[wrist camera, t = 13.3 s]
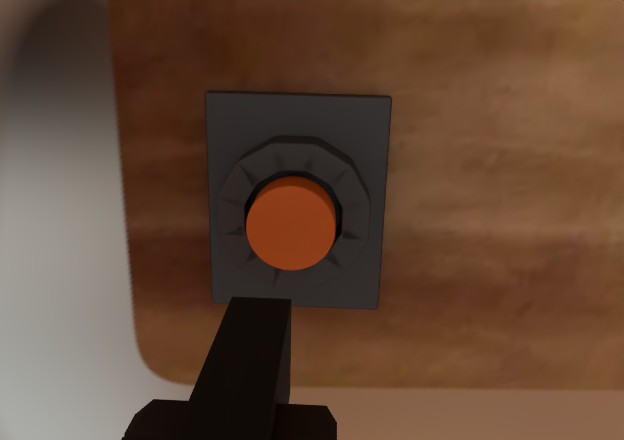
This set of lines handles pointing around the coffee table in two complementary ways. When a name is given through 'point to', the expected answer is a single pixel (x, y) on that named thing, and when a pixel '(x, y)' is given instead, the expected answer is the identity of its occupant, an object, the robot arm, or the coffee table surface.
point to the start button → (291, 223)
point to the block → (305, 163)
